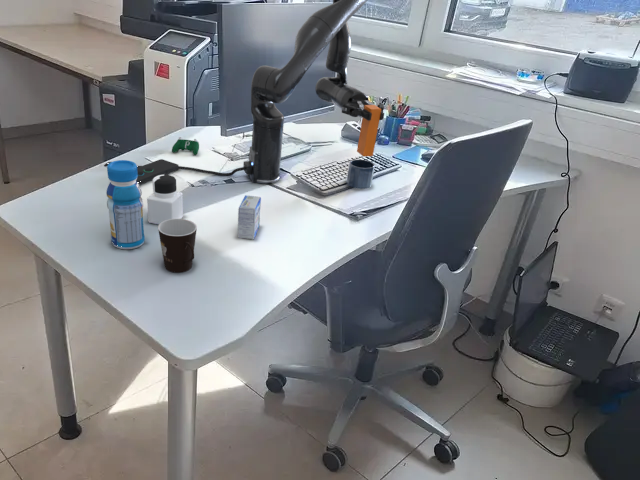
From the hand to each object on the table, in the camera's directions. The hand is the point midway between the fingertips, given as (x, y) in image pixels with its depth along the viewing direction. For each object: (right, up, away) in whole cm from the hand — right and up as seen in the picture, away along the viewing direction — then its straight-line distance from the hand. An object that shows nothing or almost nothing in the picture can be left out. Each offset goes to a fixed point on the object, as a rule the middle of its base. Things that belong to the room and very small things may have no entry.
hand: (376, 116), depth 161 cm
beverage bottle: (-67, -39, -23) cm, 81 cm away
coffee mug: (-54, -46, -33) cm, 78 cm away
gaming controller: (-58, -2, +33) cm, 67 cm away
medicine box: (-37, -36, -16) cm, 54 cm away
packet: (-1, -8, +9) cm, 12 cm away
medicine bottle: (-59, -32, -12) cm, 68 cm away
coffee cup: (-2, -17, +14) cm, 22 cm away
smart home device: (-68, -14, +14) cm, 71 cm away
